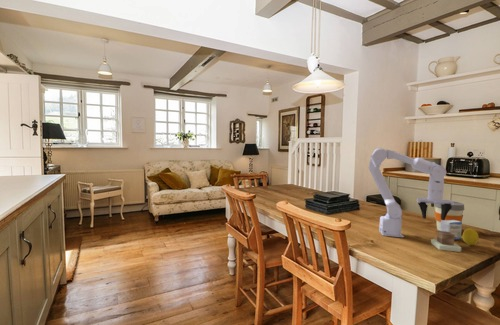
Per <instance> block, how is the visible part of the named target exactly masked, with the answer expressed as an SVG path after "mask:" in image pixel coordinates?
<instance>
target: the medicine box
mask: <svg viewBox="0 0 500 325" xmlns="http://www.w3.org/2000/svg"><path fill="white" fill-rule="evenodd" d="M462 225H463V222H460V221H457V220H444V221H441V229H440V230H439V231H446V232H450V233H452V234H453V235H454V241H456V240H457V241H458V240H461V239H462V227H463V226H462Z"/></svg>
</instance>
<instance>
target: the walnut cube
mask: <svg viewBox="0 0 500 325" xmlns="http://www.w3.org/2000/svg"><path fill="white" fill-rule="evenodd" d="M436 234H437V235H436V236H437V237H436V239H437V241H438V242H440V243H441V244H445V245H454V243H455V240H454V235H453V234H452V233H450V232H446V231H440V230H437V233H436Z"/></svg>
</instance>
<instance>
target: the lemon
mask: <svg viewBox="0 0 500 325" xmlns="http://www.w3.org/2000/svg"><path fill="white" fill-rule="evenodd" d="M461 239H462V240H463V242H464V243H465V244H467V245H468V246H470V247H471V246H473V245H475V244H477V243H478V242H479V239H480V238H479V233H478V232H477V231H476V230H475V229H473V228H471V227H469V228H466V229H464V231H463V232H462V234H461Z"/></svg>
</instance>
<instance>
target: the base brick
mask: <svg viewBox="0 0 500 325" xmlns="http://www.w3.org/2000/svg"><path fill="white" fill-rule="evenodd" d="M430 243H431V244H432V245H433V246H434V247H435V248H437V249H438V250H439V251H447V252H448V251H450V252H458V253H462V246H460V245H458V244H457V243H456V242H454V245H445V244H441V243H440V242H438V241H437V238H431V239H430Z"/></svg>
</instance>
